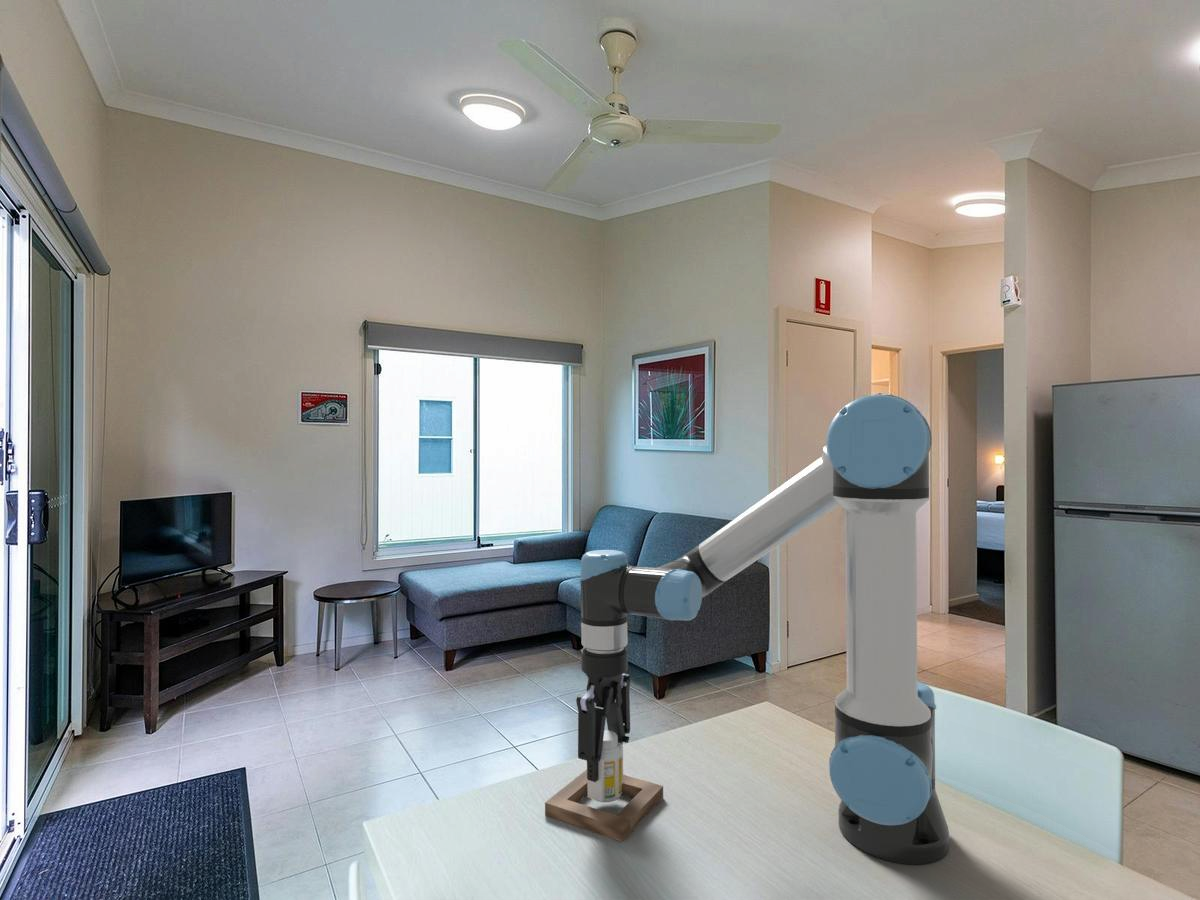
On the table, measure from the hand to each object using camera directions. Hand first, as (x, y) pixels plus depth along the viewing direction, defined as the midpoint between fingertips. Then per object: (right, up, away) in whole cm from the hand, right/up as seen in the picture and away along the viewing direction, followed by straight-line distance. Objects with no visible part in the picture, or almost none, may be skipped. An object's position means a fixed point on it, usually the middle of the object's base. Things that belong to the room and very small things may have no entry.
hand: (605, 789), depth 107 cm
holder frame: (0, -3, 0) cm, 3 cm away
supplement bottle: (0, -1, 0) cm, 1 cm away
